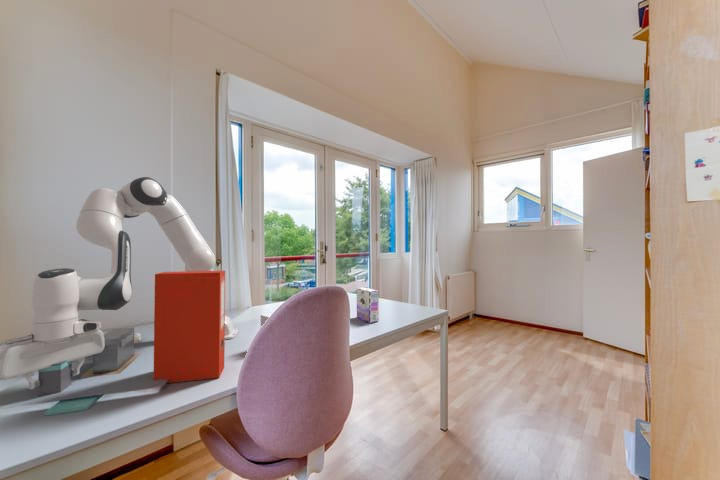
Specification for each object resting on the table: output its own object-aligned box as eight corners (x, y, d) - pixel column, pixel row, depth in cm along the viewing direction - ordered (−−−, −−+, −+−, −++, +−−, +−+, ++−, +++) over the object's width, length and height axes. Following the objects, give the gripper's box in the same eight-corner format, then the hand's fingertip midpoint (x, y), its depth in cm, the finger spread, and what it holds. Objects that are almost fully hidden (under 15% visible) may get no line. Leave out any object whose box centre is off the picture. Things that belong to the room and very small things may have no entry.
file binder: (164, 373, 90) (165, 271, 90) (224, 367, 94) (225, 270, 94) (153, 385, 82) (154, 274, 82) (218, 378, 86) (219, 272, 86)
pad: (104, 393, 78) (104, 390, 78) (87, 409, 70) (87, 406, 70) (67, 398, 75) (67, 395, 75) (45, 415, 67) (45, 412, 67)
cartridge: (71, 389, 79) (72, 356, 80) (60, 397, 75) (61, 363, 75) (50, 392, 78) (50, 359, 78) (37, 400, 74) (38, 366, 74)
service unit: (134, 356, 99) (135, 327, 99) (118, 370, 88) (118, 338, 88) (111, 358, 97) (111, 329, 97) (91, 373, 86) (92, 340, 86)
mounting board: (141, 357, 101) (141, 353, 101) (120, 378, 86) (120, 373, 86) (106, 361, 98) (106, 357, 98) (78, 383, 83) (78, 378, 83)
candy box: (379, 321, 148) (379, 290, 148) (369, 323, 145) (369, 291, 145) (365, 316, 160) (365, 286, 160) (356, 317, 157) (356, 287, 157)
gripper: (0, 344, 66) (-1, 403, 66) (107, 321, 85) (107, 368, 85) (-10, 340, 69) (-11, 397, 68) (96, 319, 87) (96, 364, 87)
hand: (55, 381), depth 77 cm, fingers closed on cartridge, 6 cm apart
